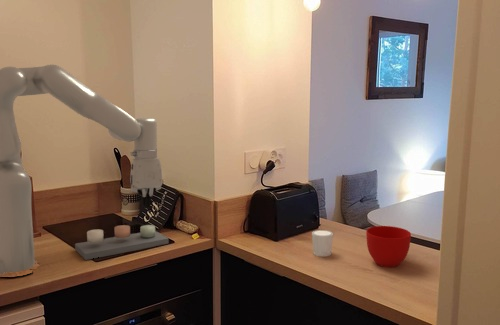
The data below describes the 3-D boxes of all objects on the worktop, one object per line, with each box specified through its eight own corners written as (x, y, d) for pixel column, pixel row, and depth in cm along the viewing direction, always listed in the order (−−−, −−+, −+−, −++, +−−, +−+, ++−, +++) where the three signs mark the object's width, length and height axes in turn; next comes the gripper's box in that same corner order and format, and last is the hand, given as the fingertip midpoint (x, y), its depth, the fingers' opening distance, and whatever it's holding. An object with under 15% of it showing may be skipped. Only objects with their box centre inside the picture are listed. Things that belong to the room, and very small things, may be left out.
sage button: (143, 238, 156) (143, 229, 155) (138, 234, 160) (138, 226, 159) (157, 235, 159) (157, 227, 158) (151, 232, 163) (151, 224, 162)
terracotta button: (117, 239, 150) (117, 230, 150) (112, 235, 154) (112, 226, 154) (132, 236, 153) (132, 227, 153) (127, 232, 157) (126, 224, 157)
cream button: (89, 243, 145) (89, 234, 145) (85, 239, 149) (85, 230, 149) (105, 241, 148) (105, 232, 148) (100, 237, 152) (100, 228, 152)
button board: (85, 260, 142) (85, 253, 141) (75, 249, 151) (74, 243, 151) (168, 244, 158) (168, 238, 157) (154, 235, 167) (154, 230, 167)
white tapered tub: (332, 257, 145) (333, 236, 144) (310, 256, 146) (311, 235, 145) (333, 250, 151) (333, 230, 150) (312, 249, 153) (312, 229, 152)
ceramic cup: (416, 256, 146) (417, 226, 144) (404, 274, 131) (405, 241, 130) (375, 249, 152) (376, 220, 151) (360, 266, 138) (360, 234, 136)
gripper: (128, 156, 148) (129, 212, 150) (170, 154, 156) (171, 207, 159) (120, 154, 154) (121, 207, 156) (161, 152, 163) (161, 202, 165)
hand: (146, 207), depth 158 cm, fingers closed
